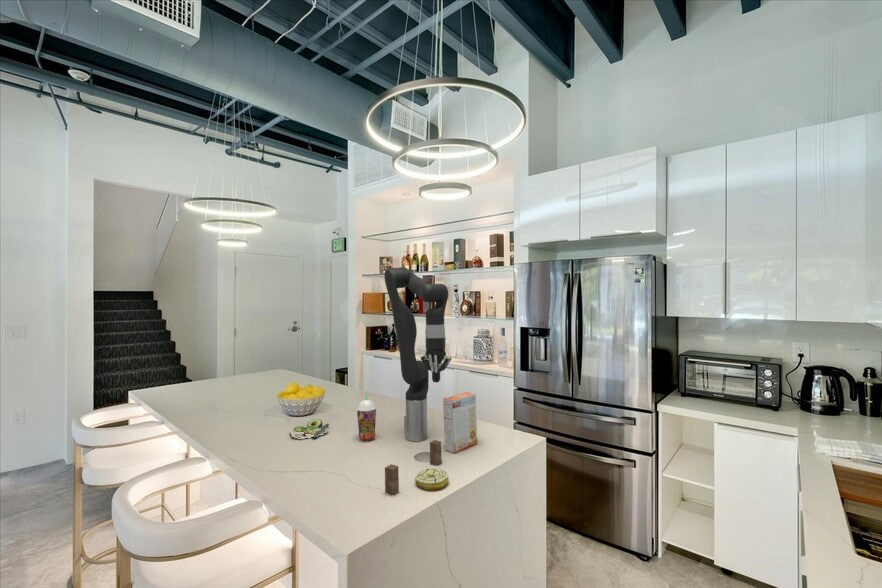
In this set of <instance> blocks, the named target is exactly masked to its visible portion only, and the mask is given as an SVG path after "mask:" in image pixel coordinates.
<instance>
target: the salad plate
mask: <svg viewBox="0 0 882 588" xmlns="http://www.w3.org/2000/svg"><path fill="white" fill-rule="evenodd" d="M329 425H330V423H326V424H325V423H323V421H322V420H321V419H319V418H317V419H316V418H315V419H312V420H310V421H309V422H308V423H307V424H306V426H307V427H304V426H305V425H297V426H293V427H292V428H291V429H293V428H294V430H293V432H304V434H311V435H314V436H313V437H314V438H313V439H316V438H315V437H317V436H318V435H321V434H324V433H326V434H327V432H328V433H329V428H328V427H329ZM319 429H321V430H319ZM325 430H326V431H325ZM324 435H325V434H324ZM296 436H297V435H295V436H293V437H296ZM293 437H292V438H293ZM317 438H318V437H317Z"/></svg>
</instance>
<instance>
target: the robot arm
mask: <svg viewBox="0 0 882 588" xmlns="http://www.w3.org/2000/svg"><path fill="white" fill-rule="evenodd" d="M383 276H384V283H385V288H386V291H387V295H388V298H389V301H390V307H391V311H392V317H393V318H392V319H393V323H394V324H393V325H394V330H395V334H396V338H397V339H396V340H397V345H398V350H399V359H400V371H401V377H402V379H403V381H404V382H405V383H406V385H407V384H408V385H409V387H408V389H407V390H406V391H405V415H404V418H403V425H404V426H403V427H404V428H403V429H404V430H403V432H404V433H403V434H404V439H406V441H410V442H422V441H426V440H427V439H428V402H427V401H428V397H427V396H428V392H429V379H430V378H429V377H430V376H429V374H430V373H429V371H430V372H431V380H432V382H433V383H439V382H440V380H441V372H444V371H445V370H446V368H447V367H448V365H449V364H450V363H451V361H452V358H451V357H449V356H447V353H446V327H445V312H446V307H447V302H448V300H449V289H448V287H447V286H446V285H445V284H444V283H431V282H430V281H429V280H428V279H426V278H425V279H424V278H422V277H420V276H418V275H416V274H415V273H414V272H413V271H412V270H410V269H409V268H407V267H393V268H392V267H390V268H387V269H385V271H384V275H383ZM404 288H408V289H409V290H410V292H411V293H412V294H414V295H416V296H419V298H420V300H421V301H423V302H425V303H435V305H434V306H433V307H432V308H428V309H427V310H426V312H425V331H424V333H425V350H426V351H425V354H424V355H423V356H421V357H420V359H421V360H417V358H416V350H415V347H416V340H417V335H418V331H417V324H416V319H415V315H414V313H413V312H412V310H411V309H410V308H409V307H408V306H407V305H406V304H405V302H404V301H403V300H402V298H401V296H400V294H399V291H398V289H404Z"/></svg>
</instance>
